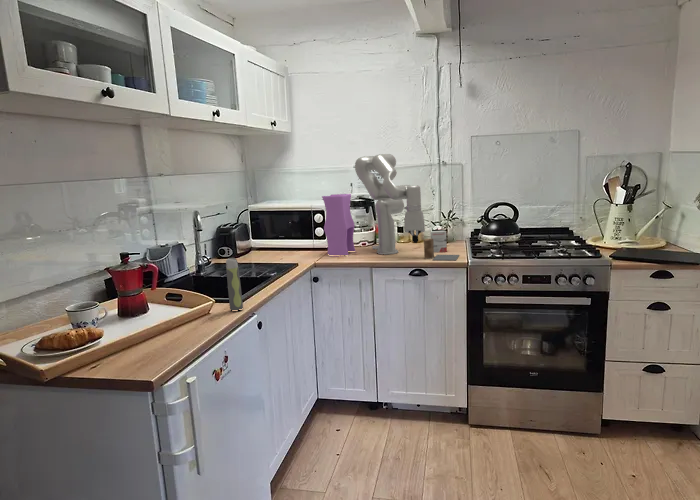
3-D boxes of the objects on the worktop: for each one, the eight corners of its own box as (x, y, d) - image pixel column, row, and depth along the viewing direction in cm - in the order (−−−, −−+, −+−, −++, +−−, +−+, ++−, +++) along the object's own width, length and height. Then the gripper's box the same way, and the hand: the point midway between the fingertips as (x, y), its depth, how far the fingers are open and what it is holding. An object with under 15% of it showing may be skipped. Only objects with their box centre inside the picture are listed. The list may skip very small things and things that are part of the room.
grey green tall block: (228, 310, 180) (222, 258, 177) (240, 307, 183) (235, 256, 179) (233, 313, 176) (227, 260, 173) (245, 310, 179) (240, 257, 175)
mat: (432, 260, 249) (432, 259, 249) (437, 255, 262) (437, 254, 262) (455, 260, 245) (455, 259, 245) (459, 255, 258) (459, 254, 258)
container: (334, 252, 292) (331, 194, 286) (356, 252, 287) (352, 193, 281) (325, 256, 279) (321, 196, 273) (348, 256, 274) (344, 195, 268)
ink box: (446, 250, 275) (445, 230, 273) (447, 252, 270) (446, 231, 268) (430, 251, 276) (430, 230, 274) (431, 252, 271) (430, 232, 269)
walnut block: (424, 258, 254) (423, 240, 253) (426, 256, 260) (426, 238, 258) (431, 258, 253) (431, 240, 251) (434, 256, 259) (433, 238, 257)
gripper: (398, 209, 254) (400, 244, 257) (426, 209, 248) (427, 243, 251) (402, 208, 261) (403, 241, 264) (429, 207, 255) (430, 241, 258)
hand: (415, 242), depth 258 cm, fingers closed
